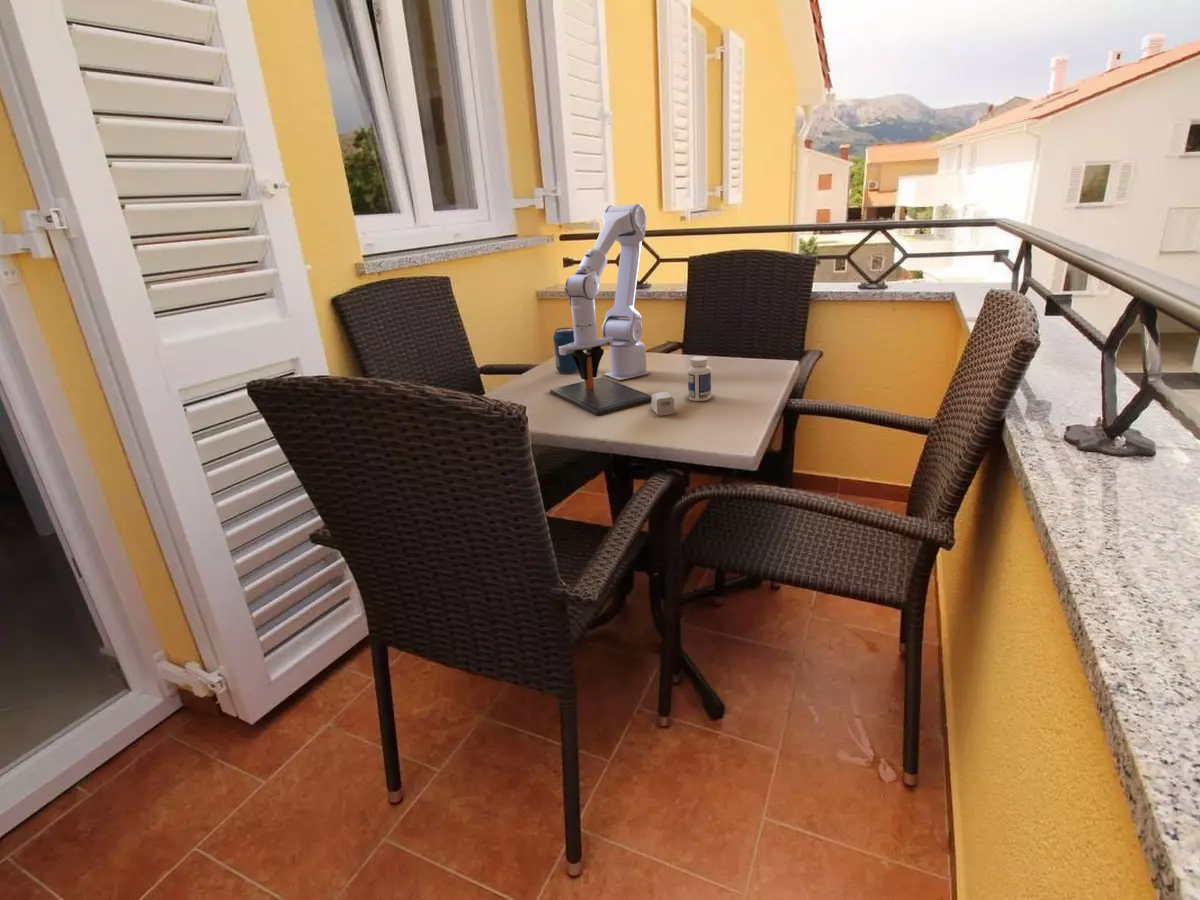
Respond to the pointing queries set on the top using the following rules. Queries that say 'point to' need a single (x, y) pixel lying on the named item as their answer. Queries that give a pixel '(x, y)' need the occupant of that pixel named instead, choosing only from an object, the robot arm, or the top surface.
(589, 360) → the orange marker
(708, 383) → the pill bottle
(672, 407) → the usb wall charger
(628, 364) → the robot arm
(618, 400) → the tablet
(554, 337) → the soda can
